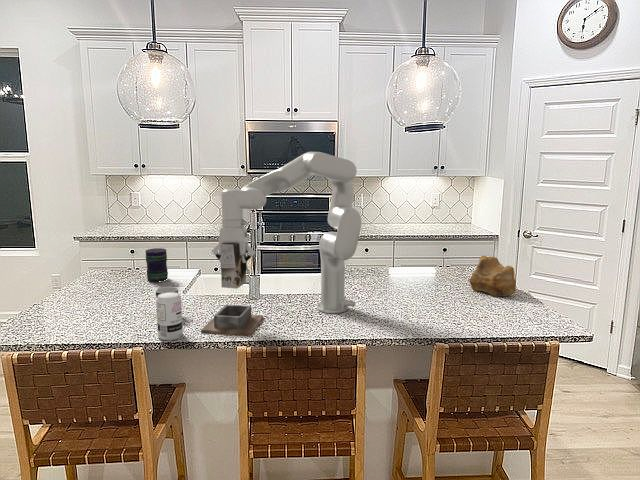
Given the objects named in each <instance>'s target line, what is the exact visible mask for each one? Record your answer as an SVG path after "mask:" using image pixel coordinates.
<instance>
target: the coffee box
mask: <svg viewBox="0 0 640 480" xmlns="http://www.w3.org/2000/svg"><path fill="white" fill-rule="evenodd" d="M245 254H246V255H247V253H245ZM241 263H242V260H241V256H240V246H239V243H222V244H221V262H220V271H221V273H220V275H221V277H220V278H221V281H220V282H221V283H220V284H221V288H226V289H227V288H228V289H235V290H236V289H239V288H240V287H241V286H244V284H246V283H247V271H246V272H245V273H244V274H242V273H241Z"/></svg>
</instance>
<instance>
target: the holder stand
mask: <svg viewBox="0 0 640 480" xmlns="http://www.w3.org/2000/svg"><path fill="white" fill-rule="evenodd" d="M263 320H264V315H261V314H259V315H258V314H252V305H242V304H241V305H240V304H225V305H224V306H223V307H221V308H220V310H219V311H218V312H216V313H215V314H214V316H213V318H211V320H210V321H209V322H208V323H206V325H204V327H203V328H201V329H200V333H201V334H216V335H217V334H220V335H235V336H251V335H252V334H253V333H254V332H255V330H256V329H257V327H259V324H260V323H262V321H263Z"/></svg>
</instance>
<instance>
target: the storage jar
mask: <svg viewBox="0 0 640 480" xmlns="http://www.w3.org/2000/svg"><path fill="white" fill-rule="evenodd" d="M167 261H168V254H167V249H166V248H161V247H160V248H159V247H158V248H155V247H154V248H150V249H149V248H148V249H146V250H145V262H146V278H147V282H148V281H150V282H149V283H151V282H158V283H160V282H159V281H164V280H166V279H167V278H168V277H169V276H168V275H169V272H168V265H167V264H168V263H167ZM168 279H169V278H168ZM164 282H165V281H164Z"/></svg>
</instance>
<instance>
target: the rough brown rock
mask: <svg viewBox="0 0 640 480" xmlns="http://www.w3.org/2000/svg"><path fill="white" fill-rule="evenodd" d="M515 275H516V274H515V268H514V267H513V266H512V265H505V266H504V265H503V264H502V263H500V261H499V259H498V258H497V257H495V256H491V255H490V256H487V255H482V256H480V257H479V261H478V265H477V266H476V268H475V270H474V271H473V272H472V273H471V276H470V277H469V279H468V280H469V284H470V287H471V289H472V290H473V291H476V292H485V293H488V294H490V295H491V296H494V297H496V298H498V297H507V296H511V295H513V294H514V293H516V288H517V282H516V278H515V277H516V276H515Z"/></svg>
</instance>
